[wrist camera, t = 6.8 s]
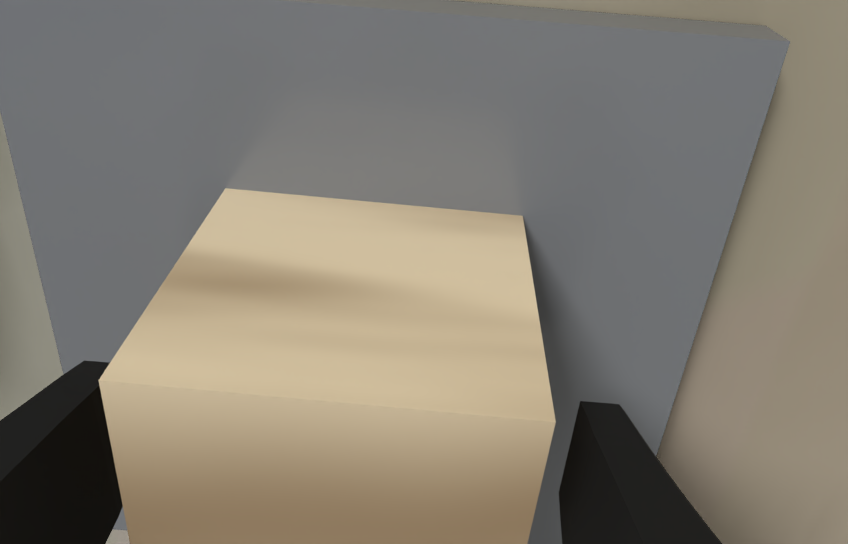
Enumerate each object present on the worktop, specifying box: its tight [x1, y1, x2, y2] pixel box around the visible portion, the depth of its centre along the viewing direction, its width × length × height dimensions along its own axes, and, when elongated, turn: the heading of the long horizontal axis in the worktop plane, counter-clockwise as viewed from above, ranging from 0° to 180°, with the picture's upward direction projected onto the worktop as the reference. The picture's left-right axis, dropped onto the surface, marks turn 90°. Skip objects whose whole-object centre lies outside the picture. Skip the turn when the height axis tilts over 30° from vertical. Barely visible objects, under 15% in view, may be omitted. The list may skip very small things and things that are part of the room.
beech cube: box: [98, 188, 556, 544], centre depth 11 cm, size 5×5×5 cm
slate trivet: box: [0, 0, 790, 544], centre depth 14 cm, size 12×12×1 cm
